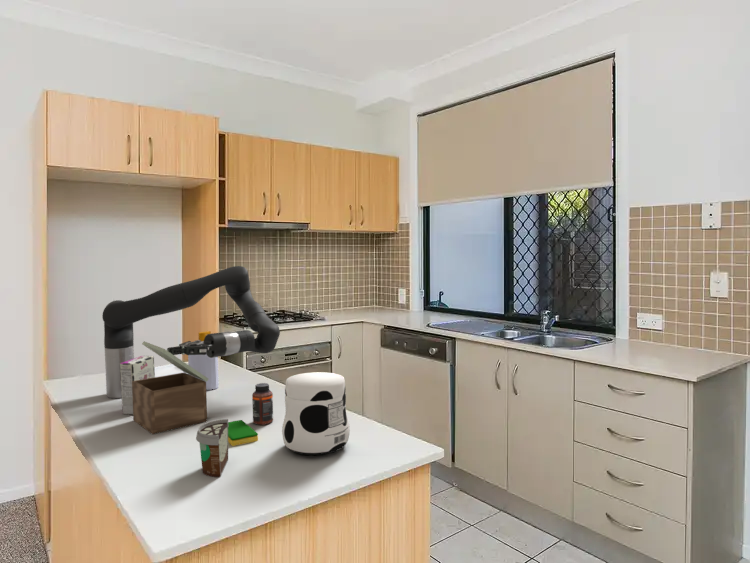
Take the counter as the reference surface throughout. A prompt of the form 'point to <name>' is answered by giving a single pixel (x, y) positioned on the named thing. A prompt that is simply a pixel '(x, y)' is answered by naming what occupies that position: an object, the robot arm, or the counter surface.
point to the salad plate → (166, 370)
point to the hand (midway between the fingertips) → (168, 351)
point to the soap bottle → (205, 366)
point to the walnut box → (169, 402)
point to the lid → (175, 361)
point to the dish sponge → (240, 433)
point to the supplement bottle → (262, 404)
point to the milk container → (315, 413)
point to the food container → (213, 447)
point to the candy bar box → (134, 378)
